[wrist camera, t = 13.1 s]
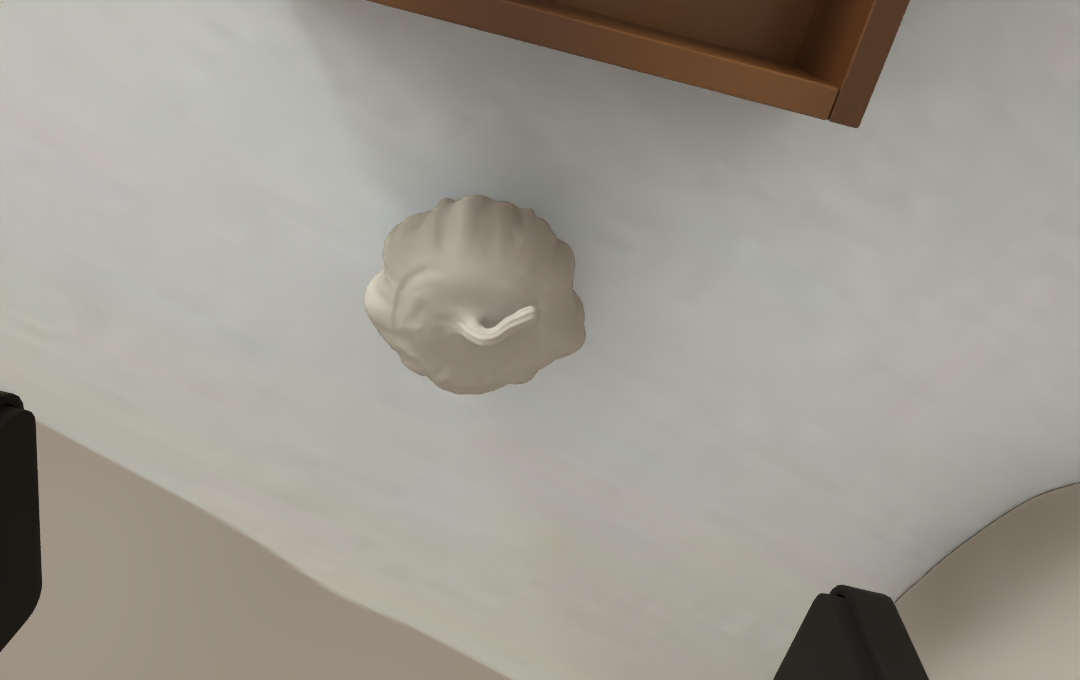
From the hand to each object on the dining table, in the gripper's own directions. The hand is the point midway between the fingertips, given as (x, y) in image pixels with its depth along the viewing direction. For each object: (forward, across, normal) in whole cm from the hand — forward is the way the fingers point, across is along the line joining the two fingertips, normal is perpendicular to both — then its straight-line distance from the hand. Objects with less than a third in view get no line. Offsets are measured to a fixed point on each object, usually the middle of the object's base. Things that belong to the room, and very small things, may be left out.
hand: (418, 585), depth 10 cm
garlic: (+15, +1, +2) cm, 15 cm away
